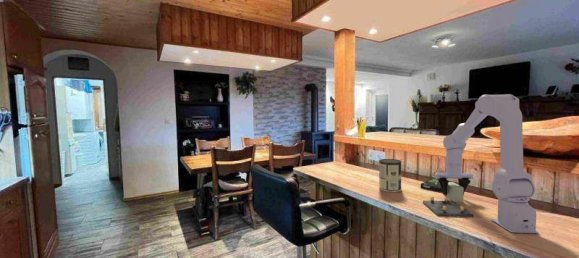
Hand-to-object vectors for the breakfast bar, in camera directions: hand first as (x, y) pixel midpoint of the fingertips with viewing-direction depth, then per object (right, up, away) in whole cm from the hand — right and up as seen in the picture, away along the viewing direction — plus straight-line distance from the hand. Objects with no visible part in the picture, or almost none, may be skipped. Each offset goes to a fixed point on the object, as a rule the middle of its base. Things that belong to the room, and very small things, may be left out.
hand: (453, 194), depth 109 cm
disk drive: (+3, -1, +16) cm, 16 cm away
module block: (0, -2, 0) cm, 2 cm away
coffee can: (-22, -1, +14) cm, 26 cm away
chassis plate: (-10, -2, -12) cm, 16 cm away
